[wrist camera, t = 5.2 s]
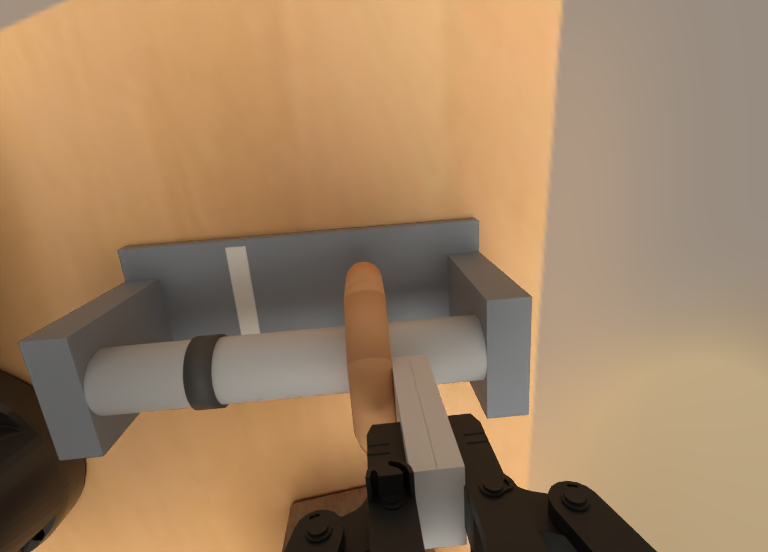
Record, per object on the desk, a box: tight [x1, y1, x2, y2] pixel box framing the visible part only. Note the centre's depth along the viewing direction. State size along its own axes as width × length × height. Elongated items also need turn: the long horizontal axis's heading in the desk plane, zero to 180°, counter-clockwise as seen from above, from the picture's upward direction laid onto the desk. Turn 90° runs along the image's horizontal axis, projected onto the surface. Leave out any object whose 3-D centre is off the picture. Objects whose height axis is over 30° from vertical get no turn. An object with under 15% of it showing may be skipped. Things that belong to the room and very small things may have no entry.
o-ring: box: [344, 262, 396, 453], centre depth 21 cm, size 2×9×9 cm, turn 4°
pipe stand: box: [18, 218, 532, 460], centre depth 24 cm, size 22×10×10 cm, turn 94°
